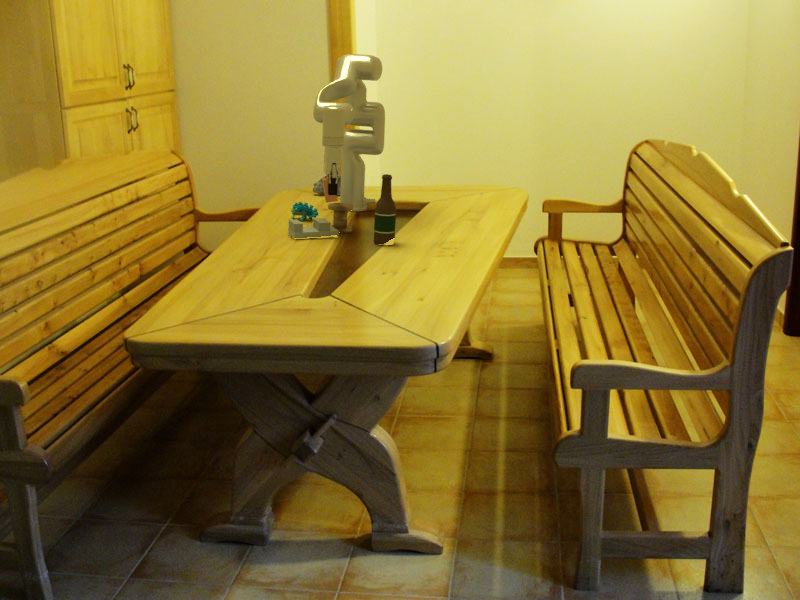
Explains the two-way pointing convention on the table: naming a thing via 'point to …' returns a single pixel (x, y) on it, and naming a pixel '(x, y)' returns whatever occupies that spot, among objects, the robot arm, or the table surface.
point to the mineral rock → (320, 189)
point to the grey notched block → (311, 229)
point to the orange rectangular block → (327, 197)
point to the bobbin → (341, 216)
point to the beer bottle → (385, 213)
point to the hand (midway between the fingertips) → (331, 192)
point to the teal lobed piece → (303, 210)
